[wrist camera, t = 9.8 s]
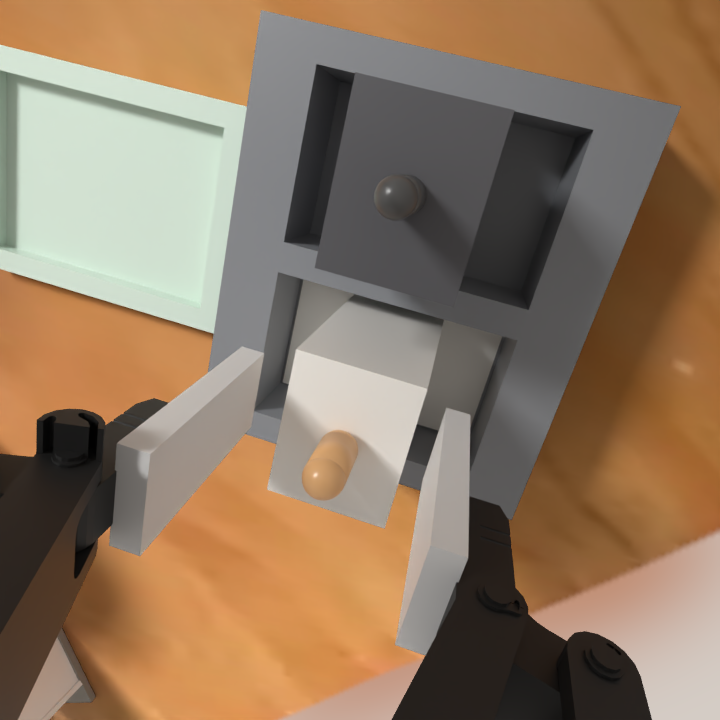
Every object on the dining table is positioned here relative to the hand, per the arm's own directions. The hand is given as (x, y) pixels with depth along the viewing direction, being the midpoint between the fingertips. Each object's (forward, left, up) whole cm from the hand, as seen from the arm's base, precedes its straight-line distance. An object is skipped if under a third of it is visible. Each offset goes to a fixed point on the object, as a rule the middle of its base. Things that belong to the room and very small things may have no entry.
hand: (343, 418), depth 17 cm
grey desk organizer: (-3, 0, -9) cm, 9 cm away
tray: (-3, -14, -9) cm, 17 cm away
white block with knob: (0, 0, -8) cm, 8 cm away
